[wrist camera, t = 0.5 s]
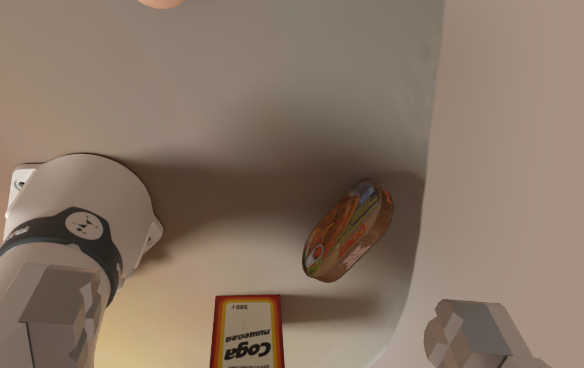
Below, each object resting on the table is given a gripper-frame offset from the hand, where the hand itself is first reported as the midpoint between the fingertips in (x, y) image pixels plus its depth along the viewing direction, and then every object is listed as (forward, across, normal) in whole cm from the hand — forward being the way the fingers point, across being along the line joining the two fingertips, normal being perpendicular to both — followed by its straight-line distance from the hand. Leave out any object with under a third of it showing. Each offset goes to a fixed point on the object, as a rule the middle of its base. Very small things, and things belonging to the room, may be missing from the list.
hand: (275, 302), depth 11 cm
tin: (+42, +15, -27) cm, 53 cm away
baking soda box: (+42, +5, -47) cm, 63 cm away
